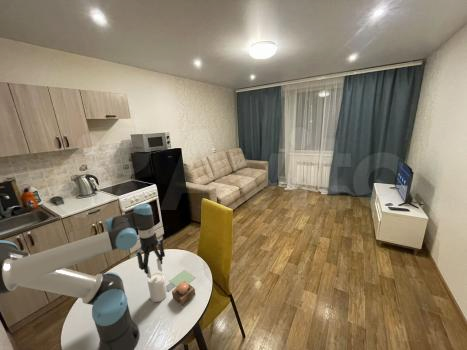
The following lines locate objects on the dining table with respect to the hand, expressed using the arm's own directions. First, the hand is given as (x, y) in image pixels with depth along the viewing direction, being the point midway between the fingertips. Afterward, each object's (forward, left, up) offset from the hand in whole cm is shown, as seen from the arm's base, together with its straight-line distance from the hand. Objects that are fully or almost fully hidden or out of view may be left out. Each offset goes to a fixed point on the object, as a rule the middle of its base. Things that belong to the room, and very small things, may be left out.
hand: (154, 273), depth 101 cm
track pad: (+7, 0, -15) cm, 16 cm away
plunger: (+8, -11, -14) cm, 20 cm away
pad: (+15, -1, -15) cm, 21 cm away
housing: (+8, -12, -15) cm, 20 cm away
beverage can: (0, 0, -15) cm, 15 cm away
